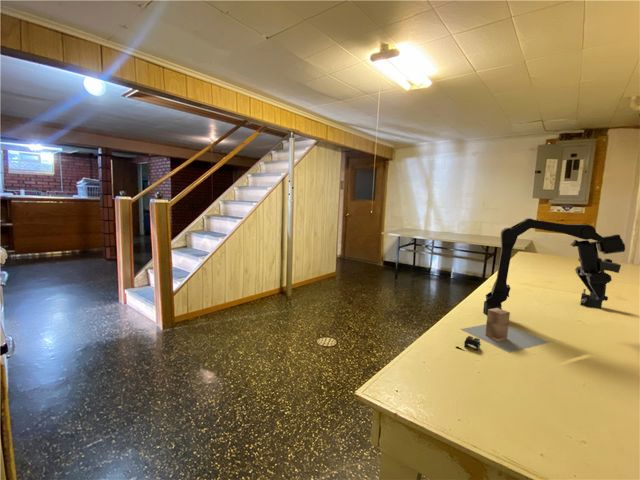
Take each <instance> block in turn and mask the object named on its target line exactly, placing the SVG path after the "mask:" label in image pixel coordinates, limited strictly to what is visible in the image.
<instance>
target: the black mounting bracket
mask: <svg viewBox="0 0 640 480" xmlns="http://www.w3.org/2000/svg"><path fill="white" fill-rule="evenodd" d="M480 340H481V339H480V338H478V337H474V336H472V335H468V336H467V337H466V338H465V340H464V341H463V343H464V348H468V349H469V347H471V346H473V347H474V349H473V350H474V351H476V352H477V351H479V350H480V348H481V345H482V344H481V341H480ZM468 346H469V347H468ZM455 349H457V350H461V351H463V352H466V353H468V351H467V350H465V349H463V348H461V347H459V346H455Z"/></svg>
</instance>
